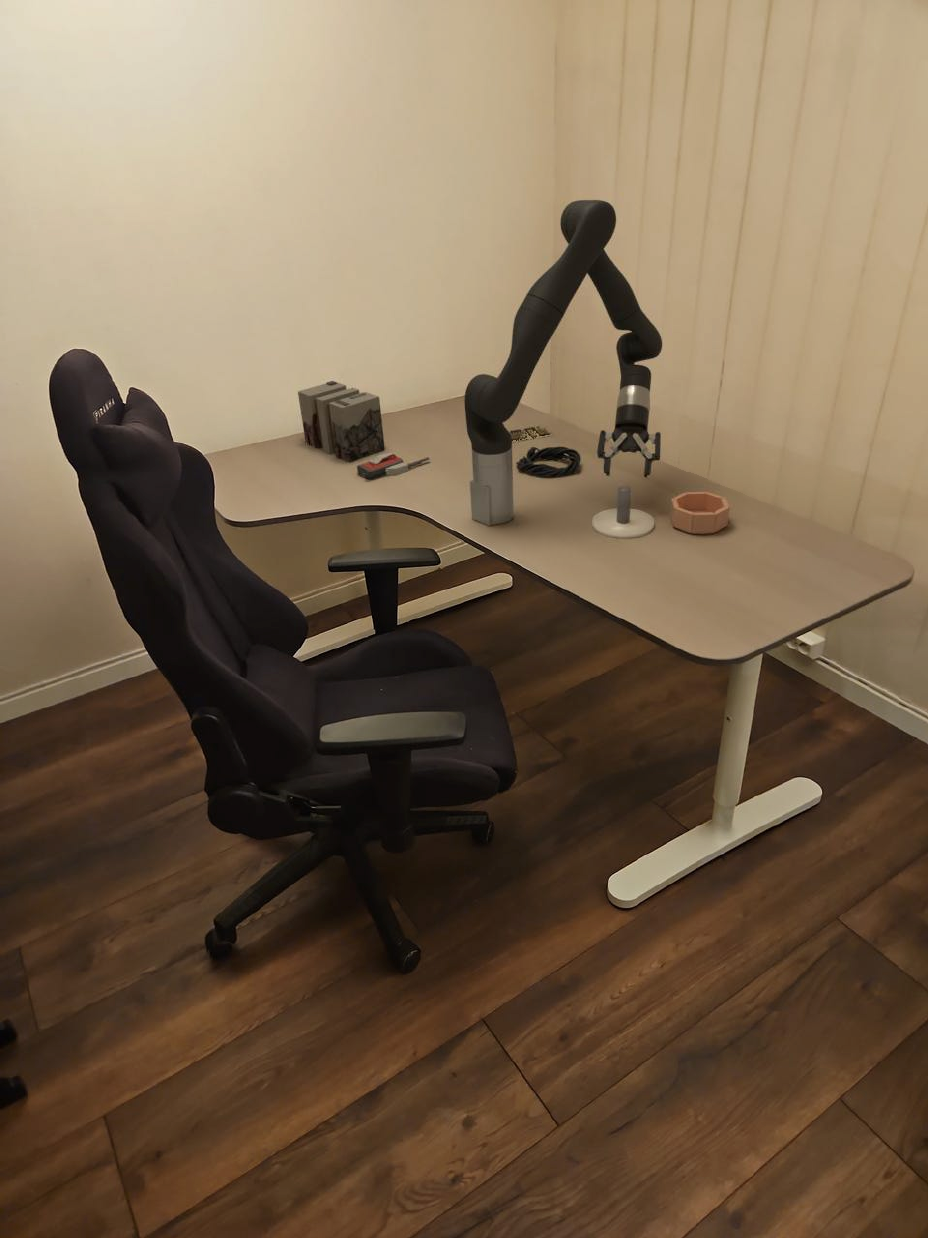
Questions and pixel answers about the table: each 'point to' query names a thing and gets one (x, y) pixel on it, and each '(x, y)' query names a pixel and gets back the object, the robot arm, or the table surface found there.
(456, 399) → the table surface
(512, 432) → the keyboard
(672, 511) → the bowl
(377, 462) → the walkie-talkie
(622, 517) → the lid
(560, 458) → the cable
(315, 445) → the bookend
